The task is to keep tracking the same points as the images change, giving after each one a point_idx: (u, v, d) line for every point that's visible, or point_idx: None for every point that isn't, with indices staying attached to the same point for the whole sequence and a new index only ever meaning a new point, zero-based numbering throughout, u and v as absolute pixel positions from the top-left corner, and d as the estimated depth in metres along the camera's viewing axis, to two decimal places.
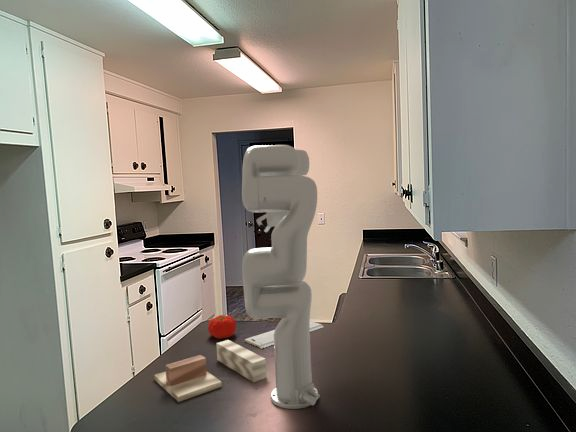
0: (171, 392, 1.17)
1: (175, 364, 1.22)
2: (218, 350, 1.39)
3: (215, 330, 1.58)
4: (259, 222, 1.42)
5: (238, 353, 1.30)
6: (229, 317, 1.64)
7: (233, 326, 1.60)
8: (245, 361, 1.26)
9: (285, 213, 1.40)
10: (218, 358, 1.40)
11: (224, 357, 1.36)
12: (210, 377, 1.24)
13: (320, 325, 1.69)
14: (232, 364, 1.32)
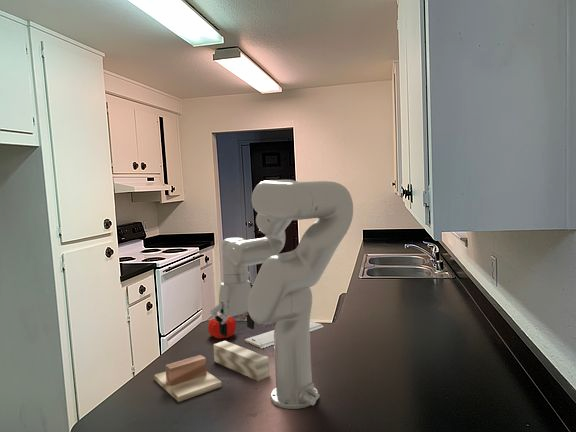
0: (171, 392, 1.17)
1: (175, 364, 1.22)
2: (215, 352, 1.38)
3: (215, 330, 1.58)
4: None
5: (239, 353, 1.30)
6: (229, 317, 1.64)
7: (233, 326, 1.60)
8: (248, 360, 1.26)
9: None
10: (215, 359, 1.39)
11: (223, 358, 1.36)
12: (210, 377, 1.24)
13: (320, 325, 1.69)
14: (232, 365, 1.32)
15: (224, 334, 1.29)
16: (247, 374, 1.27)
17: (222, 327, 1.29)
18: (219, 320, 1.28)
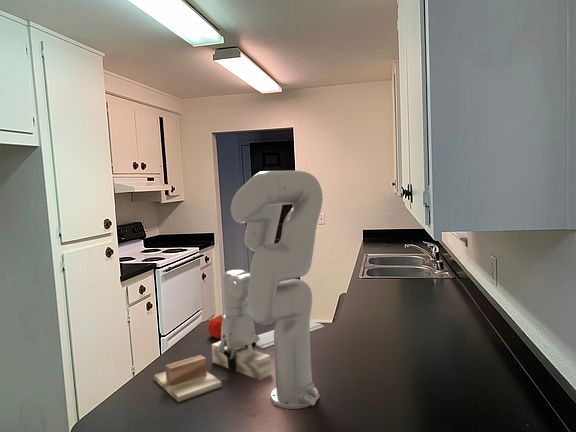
0: (171, 392, 1.17)
1: (175, 364, 1.22)
2: (213, 352, 1.38)
3: (215, 330, 1.58)
4: None
5: (240, 352, 1.30)
6: None
7: None
8: (249, 359, 1.27)
9: None
10: (214, 359, 1.38)
11: (222, 358, 1.35)
12: (210, 377, 1.24)
13: (320, 325, 1.69)
14: None
15: (232, 368, 1.30)
16: (248, 373, 1.27)
17: (230, 362, 1.30)
18: (227, 355, 1.29)
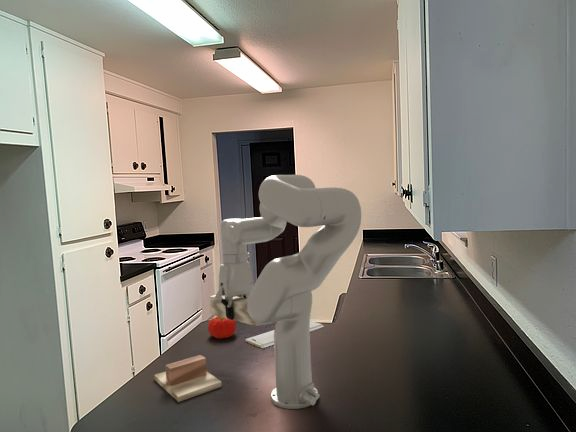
0: (171, 392, 1.17)
1: (175, 364, 1.22)
2: (212, 303, 1.37)
3: (215, 330, 1.58)
4: None
5: (237, 301, 1.29)
6: None
7: (233, 326, 1.60)
8: None
9: None
10: (212, 311, 1.37)
11: (220, 308, 1.34)
12: (210, 377, 1.24)
13: (320, 325, 1.69)
14: None
15: (230, 317, 1.29)
16: (246, 320, 1.26)
17: (228, 310, 1.29)
18: (225, 303, 1.28)
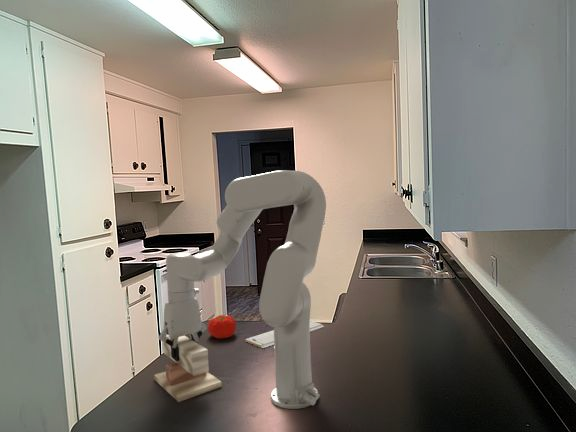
0: (171, 392, 1.17)
1: (175, 364, 1.22)
2: (163, 342, 1.30)
3: (215, 330, 1.58)
4: None
5: (180, 344, 1.21)
6: (229, 317, 1.64)
7: (233, 326, 1.60)
8: (186, 352, 1.17)
9: None
10: (164, 350, 1.31)
11: (168, 349, 1.27)
12: (210, 377, 1.24)
13: (320, 325, 1.69)
14: None
15: (176, 358, 1.21)
16: (186, 367, 1.18)
17: (174, 351, 1.21)
18: (170, 344, 1.20)
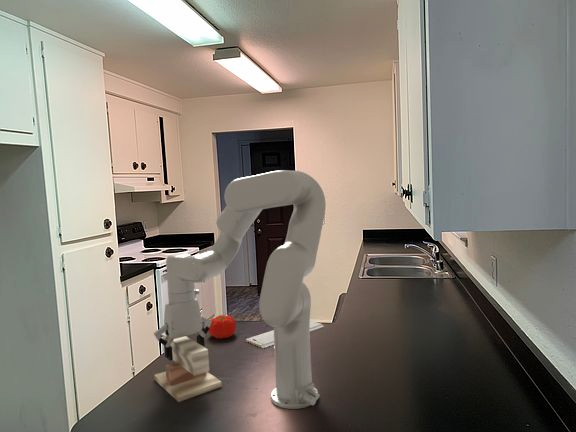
0: (171, 392, 1.17)
1: (175, 364, 1.22)
2: None
3: (215, 330, 1.58)
4: None
5: (181, 344, 1.21)
6: (229, 317, 1.64)
7: (233, 326, 1.60)
8: (186, 352, 1.17)
9: None
10: None
11: None
12: (210, 377, 1.24)
13: (320, 325, 1.69)
14: (176, 356, 1.23)
15: (169, 358, 1.20)
16: (186, 367, 1.18)
17: (167, 350, 1.20)
18: (163, 343, 1.19)
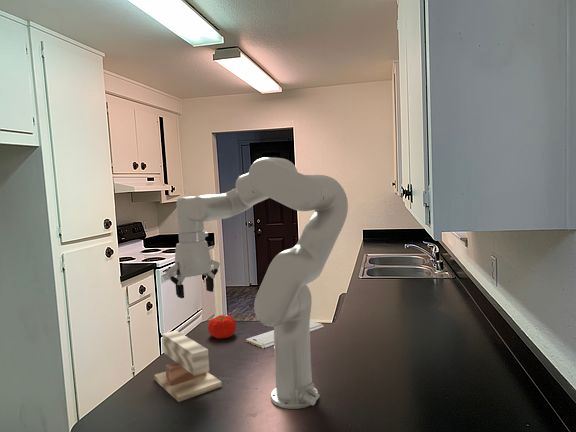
0: (171, 392, 1.17)
1: (175, 364, 1.22)
2: (163, 342, 1.30)
3: (215, 330, 1.58)
4: None
5: (181, 344, 1.21)
6: (229, 317, 1.64)
7: (233, 326, 1.60)
8: (186, 352, 1.17)
9: None
10: (164, 350, 1.31)
11: (169, 349, 1.27)
12: (210, 377, 1.24)
13: (320, 325, 1.69)
14: (176, 356, 1.23)
15: (181, 296, 1.24)
16: (186, 367, 1.18)
17: (178, 288, 1.24)
18: (175, 281, 1.23)
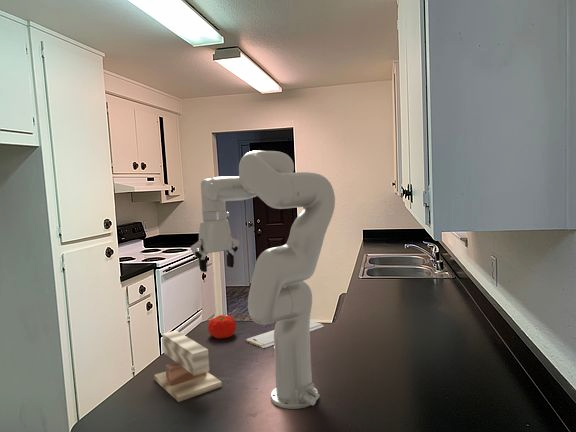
0: (171, 392, 1.17)
1: (175, 364, 1.22)
2: (163, 342, 1.30)
3: (215, 330, 1.58)
4: None
5: (181, 344, 1.21)
6: (229, 317, 1.64)
7: (233, 326, 1.60)
8: (186, 352, 1.17)
9: None
10: (164, 350, 1.31)
11: (169, 349, 1.27)
12: (210, 377, 1.24)
13: (320, 324, 1.69)
14: (176, 356, 1.23)
15: (204, 270, 1.34)
16: (186, 367, 1.18)
17: (202, 263, 1.34)
18: (199, 256, 1.33)
